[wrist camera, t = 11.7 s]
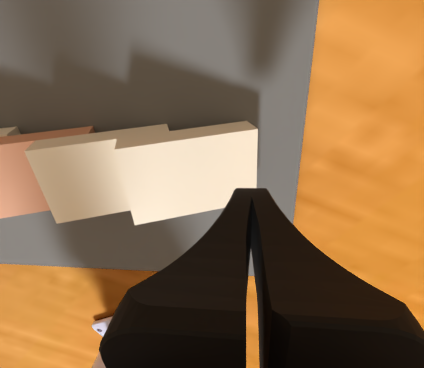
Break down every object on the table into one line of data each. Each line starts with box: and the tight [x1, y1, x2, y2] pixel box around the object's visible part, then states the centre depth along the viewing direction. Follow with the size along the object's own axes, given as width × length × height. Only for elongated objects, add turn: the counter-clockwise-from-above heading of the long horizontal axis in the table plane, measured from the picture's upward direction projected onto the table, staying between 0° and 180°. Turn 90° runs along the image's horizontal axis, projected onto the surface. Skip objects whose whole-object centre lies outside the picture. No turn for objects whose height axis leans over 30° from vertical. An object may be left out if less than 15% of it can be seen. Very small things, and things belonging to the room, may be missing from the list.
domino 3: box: [114, 121, 258, 225], centre depth 14 cm, size 2×4×7 cm
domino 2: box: [24, 124, 169, 224], centre depth 15 cm, size 2×4×7 cm
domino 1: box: [0, 126, 95, 219], centre depth 16 cm, size 2×4×7 cm
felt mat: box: [0, 0, 319, 276], centre depth 17 cm, size 26×22×1 cm
